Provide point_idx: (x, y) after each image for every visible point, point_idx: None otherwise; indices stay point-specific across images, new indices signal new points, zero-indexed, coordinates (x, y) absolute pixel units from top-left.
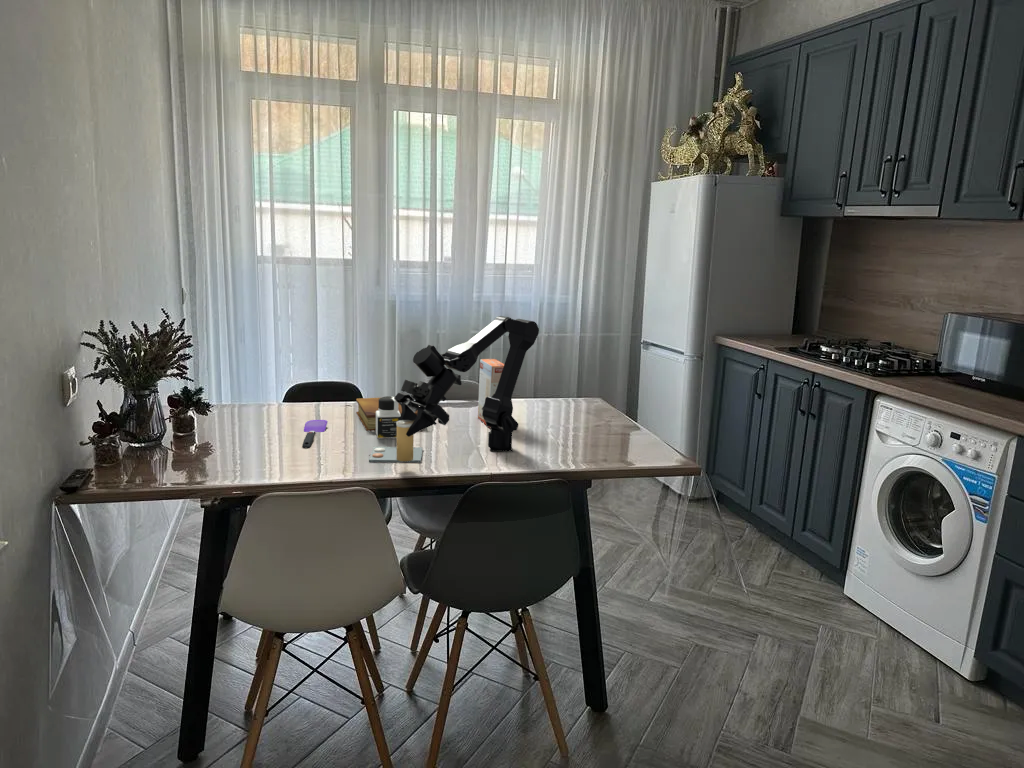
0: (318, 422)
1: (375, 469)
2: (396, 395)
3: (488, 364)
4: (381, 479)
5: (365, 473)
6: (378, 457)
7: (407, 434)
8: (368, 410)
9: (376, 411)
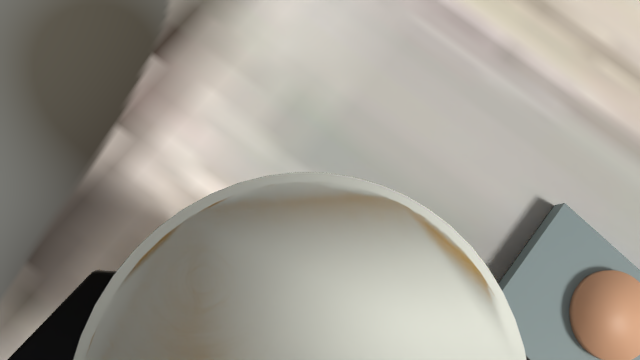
0: None
1: (385, 138)
2: None
3: None
4: (168, 33)
5: (355, 30)
6: (573, 294)
7: (89, 282)
8: None
9: None
